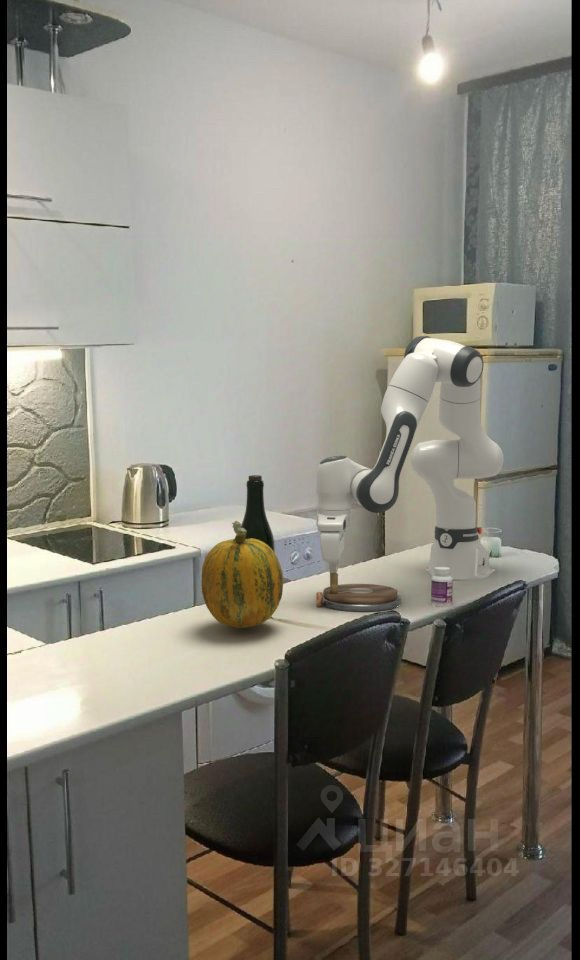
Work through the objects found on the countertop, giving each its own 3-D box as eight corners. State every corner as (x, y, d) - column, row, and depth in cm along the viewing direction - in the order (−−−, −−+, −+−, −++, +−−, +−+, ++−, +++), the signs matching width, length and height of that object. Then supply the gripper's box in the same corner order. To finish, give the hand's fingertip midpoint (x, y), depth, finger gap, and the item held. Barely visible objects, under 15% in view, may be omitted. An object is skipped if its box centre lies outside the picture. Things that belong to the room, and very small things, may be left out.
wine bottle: (255, 611, 229) (255, 477, 226) (226, 604, 236) (225, 475, 233) (284, 604, 237) (284, 475, 234) (255, 598, 244) (254, 473, 241)
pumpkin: (226, 638, 202) (225, 524, 200) (187, 621, 218) (186, 515, 216) (298, 627, 212) (298, 518, 210) (256, 611, 228) (256, 510, 226)
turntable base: (349, 591, 253) (349, 578, 253) (416, 601, 240) (416, 587, 240) (302, 604, 236) (302, 590, 236) (372, 616, 223) (372, 601, 223)
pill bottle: (452, 608, 232) (452, 570, 231) (430, 607, 233) (430, 569, 232) (452, 603, 237) (453, 566, 236) (431, 602, 238) (432, 565, 237)
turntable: (311, 592, 243) (311, 568, 243) (375, 587, 250) (376, 563, 250) (343, 607, 226) (343, 580, 225) (411, 600, 233) (411, 575, 232)
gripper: (326, 514, 247) (326, 565, 249) (316, 525, 227) (316, 580, 229) (349, 514, 246) (349, 565, 248) (342, 525, 226) (342, 581, 228)
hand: (333, 573), depth 238 cm, fingers closed
